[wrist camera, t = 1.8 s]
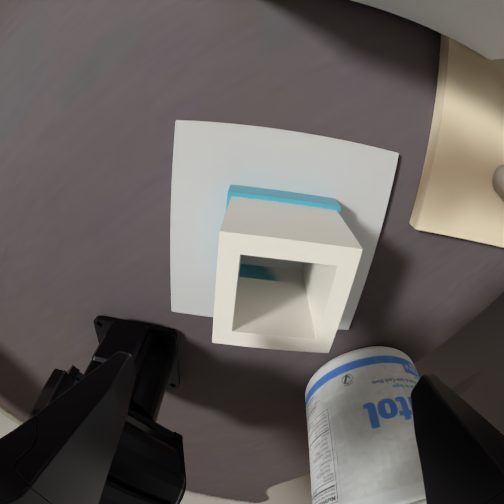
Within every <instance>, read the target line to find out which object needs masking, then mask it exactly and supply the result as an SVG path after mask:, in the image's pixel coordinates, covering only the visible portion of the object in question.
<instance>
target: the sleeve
mask: <svg viewBox="0 0 504 504" xmlns="http://www.w3.org/2000/svg"><path fill="white" fill-rule="evenodd" d="M340 210H341V206H340V205H339V203H338V202H337V201H336V200H335V198H329V197H323V196H316V195H310V194H303V193H296V192H289V191H281V190H274V189H266V188H258V187H250V186H241V185H232V184H231V185H230V187H229V190H228V194H227V205H226V213H225V216H224V219H223V222H222V225H221V228H220V231H219V243H218V256H217V270H216V285H215V300H214V317H213V335H212V343H220V344H228V345H236V346H245V347H255V348H265V349H276V350H288V351H302V352H319V353H329V351H330V348H331V345H332V343H333V340H334V337H335V334H336V332H337V329H338V326H339V323H340V320H341V317H342V314H343V311H344V308H345V305H346V302H347V299H348V296H349V293H350V290H351V287H352V284H353V281H354V277H355V274H356V271H357V267H358V264H359V261H360V257H361V254H362V250H363V249H362V247H361V246H360V244H359V243H358V241H357V239H356V238H355V236H354V235H353V233H352V232H351V230H350V229H349V227H348V226H347V225H346V223H345V222H344V220H343V219H342V217H341V216H340ZM242 255H248V256H257V257H265V258H274V259H282V260H291V261H299V262H303V267H302V271H300V270H291V269H282V268H274V267H265V266H257V265H248V264H241V257H242Z"/></svg>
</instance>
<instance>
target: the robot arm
mask: <svg viewBox="0 0 504 504" xmlns="http://www.w3.org/2000/svg"><path fill="white" fill-rule="evenodd" d="M100 322H101V323H100ZM94 325H95V329H96V333H97V337H98V341H99V346H98V347H97V349H96V351H95V353H94V354H93V356H92V360H91V362H90V364H89V366H88V367H87V369H86V371H85V373H84V375H83V374H82V373H80V372H79V371H80V370H79V369H77V368H76V367H75V366H73V365H72V367H71V368H70V369H69V370H68V371H67V372H66V371H65V370H64V371H62V370H58V369H55V370H54V371H53V372H52V374H51V376H50V377H49V379H48V380H47V382H46V384H45V386H44V387H43V389H42V391H41V393H40V394H39V396H38V398H37V400H36V402H35V404H34V406H33V408H32V410H31V412H30V415H29V420H27V421H26V422H25V423H23V424H22V425H20V426H19V427H18V428H16V429H15V430H13V431H12V432H10V433H9V434H7V435H5V436H4V437H2V438H0V504H180V502H181V500H182V498H183V496H184V493H185V488H186V473H185V463H184V452H183V439H182V435H180V434H178V433H176V432H172V431H170V430H168V429H167V428H165V427H163V426H161V425H159V424H158V423H156V420H157V417H158V413H159V410H160V406H161V403H162V399H163V396H164V393H165V389H166V388H170V389H177V388H178V387H179V384H180V381H179V366H178V349H177V334H176V332H175V331H174V330H172V329H169V328H163V327H157V326H151V325H145V324H140V323H134V322H129V321H124V320H119V319H114V318H109V317H104V316H97V317H96V319H95V320H94ZM168 335H170V336H172V337H170V336H168ZM411 404H412V412H413V421H414V430H415V437H416V443H417V448H418V453H419V458H420V464H421V470H422V476H423V482H424V489H425V496H426V503H427V504H504V435H503V434H502V433H500V431H498V430H497V429H496V428H495V427H494V426H493V425H492V424H490V423H489V422H488V421H487V420H486V419H485V418H484V417H483V416H481V415H480V414H479V413H478V412H477V411H475V410H474V409H473V408H472V407H471V406H470V405H469V404H468V403H466V402H465V401H464V400H463V399H462V398H461V397H459V396H458V395H457V394H456V393H455V392H454V391H452V390H451V389H450V388H449V387H448V386H447V385H445V384H444V383H443V382H442V381H441V380H440V379H438V378H437V377H436V376H435V375H432V374H429V375H423V376H421V377H420V379H419V380H418V382H417V384H416V385H415V387H414V388H413V390H412V392H411Z"/></svg>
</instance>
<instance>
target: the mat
mask: <svg viewBox="0 0 504 504" xmlns="http://www.w3.org/2000/svg"><path fill="white" fill-rule="evenodd" d="M398 156H399V153H397V152H393V151H389V150H385V149H381V148H377V147H373V146H369V145H364V144H360V143H355V142H351V141H346V140H341V139H336V138H331V137H325V136H320V135H314V134H308V133H302V132H296V131H290V130H283V129H276V128H268V127H260V126H252V125H242V124H232V123H221V122H208V121H192V120H176V122H175V135H174V150H173V167H172V189H171V230H170V267H171V308H172V312H179V313H186V314H193V315H200V316H207V317H214V300H215V285H216V270H217V256H218V243H219V231H220V228H221V225H222V222H223V219H224V216H225V213H226V205H227V194H228V190H229V187H230V185H231V184H232V185H241V186H250V187H258V188H266V189H274V190H281V191H289V192H296V193H303V194H310V195H316V196H323V197H329V198H335V200H336V201H337V202H338V203H339V205H340V206H341V210H340V216H341V217H342V219H343V220H344V222H345V223H346V225H347V226H348V227H349V229H350V230H351V232H352V233H353V235H354V236H355V238H356V239H357V241H358V243H359V244H360V246H361V247H362V249H363V250H362V254H361V257H360V261H359V264H358V267H357V271H356V274H355V277H354V281H353V284H352V287H351V290H350V293H349V296H348V299H347V302H346V305H345V308H344V311H343V314H342V317H341V320H340V323H339V326H338V329H342V330H348V329H349V327H350V324H351V321H352V319H353V316H354V313H355V310H356V308H357V305H358V302H359V299H360V296H361V293H362V290H363V287H364V284H365V281H366V278H367V275H368V272H369V269H370V266H371V262H372V259H373V256H374V252H375V249H376V246H377V242H378V239H379V235H380V232H381V228H382V224H383V221H384V217H385V213H386V209H387V205H388V201H389V197H390V193H391V189H392V184H393V180H394V175H395V171H396V166H397V161H398ZM241 264H248V265H257V266H265V267H274V268H282V269H291V270H300V271H302V267H303V262H299V261H291V260H282V259H274V258H265V257H257V256H248V255H242V257H241Z"/></svg>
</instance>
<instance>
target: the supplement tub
mask: <svg viewBox="0 0 504 504" xmlns="http://www.w3.org/2000/svg"><path fill="white" fill-rule="evenodd" d="M419 379H420V377H419V375H418V373H417V370H416V368H415V366H414V364H413V362H412V360H411V359H410V358H409V357H408V356H407V355H406V354H405V353H403V352H402V351H400V350H398V349H395V348H391V347H385V346H372V347H365V348H361V349H357V350H353V351H350V352H347V353H344V354H342V355H340V356H338V357H336V358H334V359H332V360H330V361H329V362H327V363H326V364H325V365H323V366H322V367H321V368H320V369H319V370H318V371H317V372H316V373H315V374H314V375H313V376H312V378H311V379H310V381H309V383H308V385H307V388H306V391H305V402H306V416H307V429H308V442H309V458H310V474H311V490H312V504H427V503H426V496H425V489H424V482H423V476H422V470H421V464H420V458H419V453H418V448H417V443H416V437H415V430H414V421H413V412H412V404H411V392H412V390H413V388H414V387H415V385H416V384H417V382H418V380H419Z"/></svg>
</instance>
